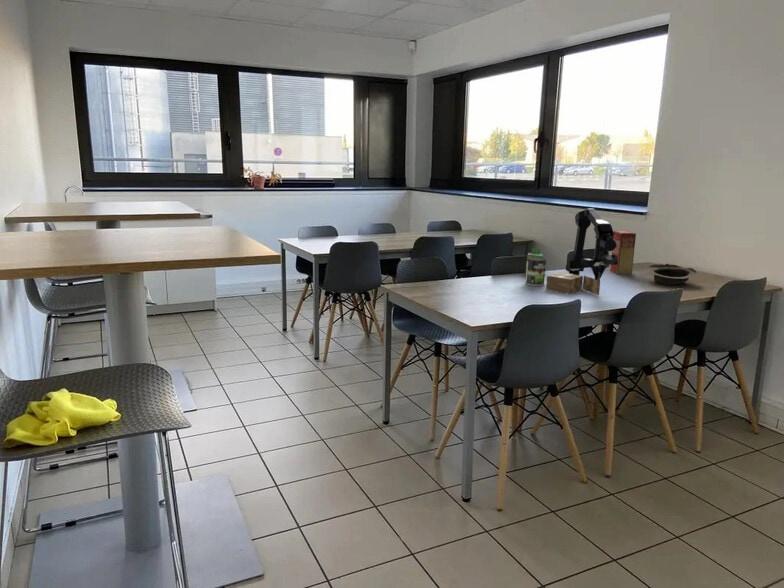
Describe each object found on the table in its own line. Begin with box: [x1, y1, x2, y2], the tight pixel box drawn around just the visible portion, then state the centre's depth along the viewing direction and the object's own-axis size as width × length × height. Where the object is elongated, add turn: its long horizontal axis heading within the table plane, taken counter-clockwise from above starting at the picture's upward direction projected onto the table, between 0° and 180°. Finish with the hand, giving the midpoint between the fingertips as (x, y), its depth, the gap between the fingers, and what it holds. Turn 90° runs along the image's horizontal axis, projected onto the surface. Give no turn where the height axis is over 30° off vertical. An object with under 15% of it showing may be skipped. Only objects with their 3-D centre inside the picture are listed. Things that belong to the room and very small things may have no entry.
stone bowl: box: [647, 263, 697, 286], centre depth 321 cm, size 25×25×9 cm
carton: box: [545, 271, 584, 295], centre depth 302 cm, size 14×13×8 cm
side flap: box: [582, 272, 601, 296], centre depth 295 cm, size 14×1×12 cm, turn 16°
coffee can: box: [524, 257, 547, 287], centre depth 314 cm, size 10×10×14 cm
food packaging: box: [609, 230, 637, 275], centre depth 347 cm, size 13×9×25 cm
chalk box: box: [525, 247, 544, 267], centre depth 343 cm, size 9×9×15 cm
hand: (597, 278), depth 290 cm, fingers closed
